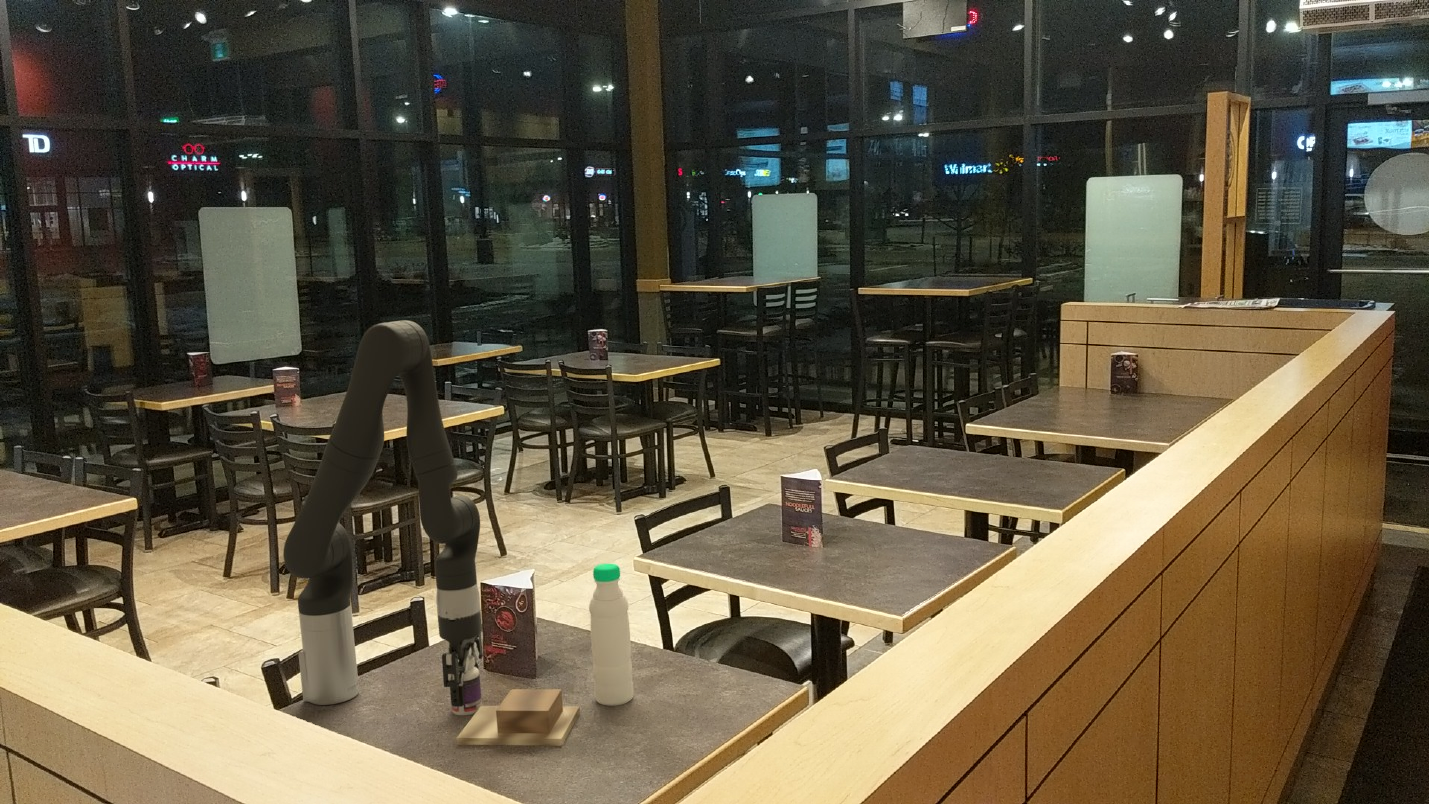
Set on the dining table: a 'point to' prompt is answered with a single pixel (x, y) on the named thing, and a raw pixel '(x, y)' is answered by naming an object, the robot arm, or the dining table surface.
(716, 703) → the dining table surface
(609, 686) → the water bottle
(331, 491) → the robot arm
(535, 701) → the walnut block
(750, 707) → the dining table surface
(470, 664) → the pill bottle
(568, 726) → the beech board
